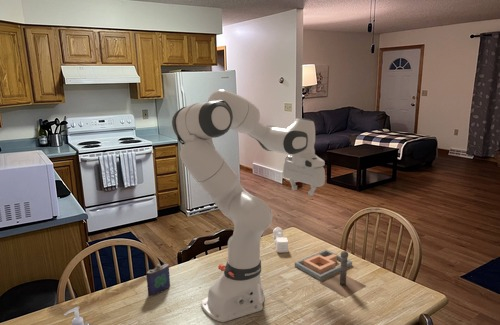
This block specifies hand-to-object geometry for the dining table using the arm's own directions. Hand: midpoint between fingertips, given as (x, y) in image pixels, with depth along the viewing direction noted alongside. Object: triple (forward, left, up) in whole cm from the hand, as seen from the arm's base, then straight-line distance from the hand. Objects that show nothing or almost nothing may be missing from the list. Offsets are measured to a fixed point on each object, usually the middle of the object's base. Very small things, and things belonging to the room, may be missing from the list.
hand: (302, 192), depth 148 cm
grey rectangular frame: (+4, -9, -31) cm, 33 cm away
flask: (-56, +17, -31) cm, 66 cm away
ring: (+4, -9, -30) cm, 32 cm away
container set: (+6, +20, -32) cm, 38 cm away
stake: (-1, -23, -31) cm, 39 cm away
